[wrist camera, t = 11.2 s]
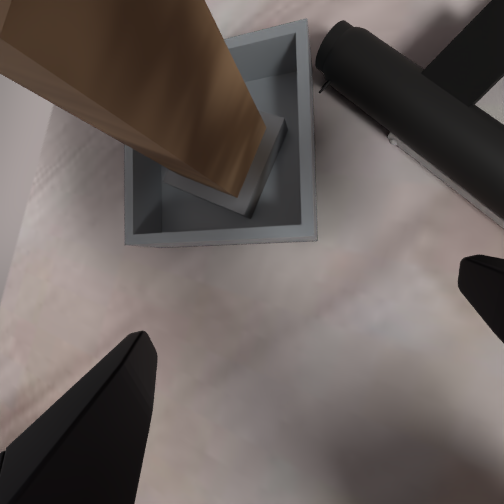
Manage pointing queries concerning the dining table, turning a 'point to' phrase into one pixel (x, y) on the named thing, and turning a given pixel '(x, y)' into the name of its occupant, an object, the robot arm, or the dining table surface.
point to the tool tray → (281, 176)
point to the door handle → (431, 101)
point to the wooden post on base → (149, 87)
